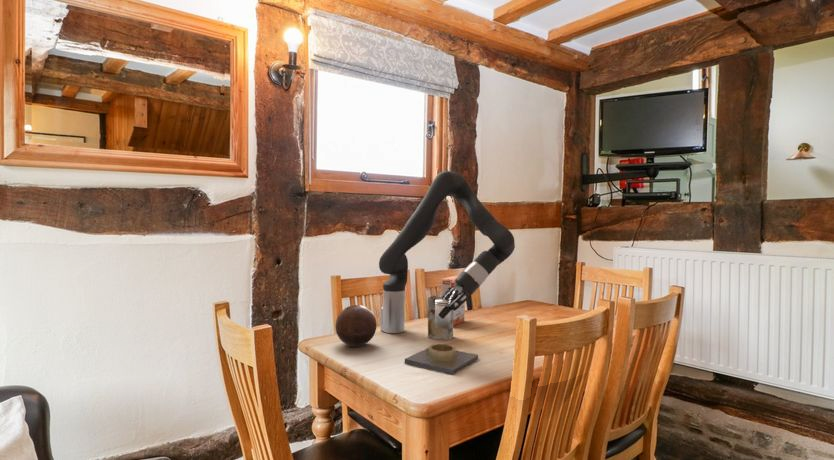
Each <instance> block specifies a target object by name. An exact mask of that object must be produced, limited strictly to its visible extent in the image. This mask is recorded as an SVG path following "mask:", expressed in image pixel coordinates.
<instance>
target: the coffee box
mask: <svg viewBox="0 0 834 460" xmlns="http://www.w3.org/2000/svg"><path fill="white" fill-rule="evenodd" d="M441 297H442V296H441V295H431V296H430V297H427V298H428V299H427V338H428V339H434V340H435V339H436V340H441V341H450V340H452V339H453V338H454V326H453V311H451V328H449V329H438V328H435V313H434V312H433V310H434V309H435V300H436V299H440V298H441Z"/></svg>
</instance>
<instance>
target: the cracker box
mask: <svg viewBox="0 0 834 460" xmlns="http://www.w3.org/2000/svg"><path fill="white" fill-rule="evenodd" d="M458 276H459V275H453V276H449V277H444V278H443V277H442V278H441V279H440V296H442V295H443V294H444V293H445V292H446V290H447V289H448V288H449V287H451V288H454V287H455V286H456V285H457V283H456V282H455V279H456V278H457V277H458ZM465 304H466V301H465V302H464V303H463V304H462V305H461V306H460V307H459V308H458V309H457V310H455V311H454V310H453V327H454V326H456V325H458V324H461V323H463V322H465V313H466V312H465V309H466V307H465V306H466V305H465ZM455 307H456V306H455Z"/></svg>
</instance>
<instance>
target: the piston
mask: <svg viewBox="0 0 834 460" xmlns="http://www.w3.org/2000/svg"><path fill="white" fill-rule="evenodd" d="M448 302H449V299H436V300H435V328H438V329H449V328H451V311H450V312H449V313H448V314H447V315H446V316H445V318H444V319H442V318H441V317H440V316H439V315H438V314H439V312H440V311H441V310H442V309H443V308H444V307H445V306H446V305H447V303H448ZM446 307H447V306H446Z"/></svg>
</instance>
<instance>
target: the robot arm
mask: <svg viewBox="0 0 834 460" xmlns="http://www.w3.org/2000/svg"><path fill="white" fill-rule="evenodd" d="M446 197H453V198H455V199H456V200H457V201H458V202H459V203H460V204H462V206H463V207H464V209H465V211H466V213H467V215H468V219H469V220H470V221H471V223H472V224H473V225H474V227H475V228H476V229H477V230H478V231H479V232H480V233H481V234H482V235H483V236H484V237H488V238H489V240H490V241H491V243H493V245H491V247H490V248H488V250H483V251H481V253H480V254H479V255H477V256H476V258H475V259H474V260H473V261H472V262H471V263H469V264H468V265H467V266H466V267H465V268H464V269H463V271H462V272H460V274H459V275H457V276H458V277H457V278H456V279H455V282H456V283H457V285H456V286H455V287H454V288H451V287H449V288H448V289H447V290H446V292H445V293H444V294H443V295H442V297H441V298H440V299H449V302H448V303H447V305H446V306H447V307H446V306H445V307H444V308H443V309H442V310H441V311H440V312H439V314H438V315H439V316H440V317H441V318H442V319H444V318H445V316H446V315H447V314H448V313H449V312H450V311H453V310H454V311H455V310H457V309H458V308H459V307H460V306H461V305H462V304H463V303H464V302H465V303H466V302H467V301H468V297H467V295H469V296H472V295H473V294H474V293H475V292H476V291H477V290H478V289H479V288H480V286H481V285H482V284H484V282H485V281H486V279H487V278H488V277H489V276H490V275H491V273H493V272H494V270H495V269H496V268H497V266H499V265H501V264H502V263H504V262H505V261H506V260H507V259H508V258H509V257H510V256H511V255H512V253H514V250H515V248H516V246H515V245H516V244H515V237H514V235H513V233H512V232H511V230H509V229H508V228H507V227H506V226H505V225H503V224H502V223H501V222H499V221H498V220H497V219H496V218H495V216H494V215H493V214H492V213H491V212H490V211H489V209H487V208H486V207H485V205H484V204H483V203H482V202H481V201H480V200H479V199H478V197H477V196H476V194H475V193H474V191H473V189H471V187H470V184H469V183H468V182H467V180H466V178H465V177H464V176H463V175H462V174H460V173H458V172H456V171H452V170H451V171H450V170H443V171H442V170H441V171H440V172H439V173H438V174H437V175H436V176H435V177H434V178H433V181H432V182H431V184H430V186H429V188H428V190H427V191H426V193H425V195H424V197H423V199H422V200H421V201H420V203H419V205H418V206H417V207H416V209H415V211H414V212H413V213H412V215H411V216H410V217H409V219H408V220H407V222H406V223H405V225H404V226H403V228H402V230H401V231H400V232H399V233H398V234H397V236H396V238H395V239H394V240H393V242H391V244H390V245H389V246H388V248H387V249H386V250H385V251H384V252H383V253H382V255H381V256H380V257H379V261H378V267H379V271H381V273H383V274H385V275H389V277H388V279H387V280H386V281H385V282H383V284H382V307H381V308H380V331H382V332H383V333H386V334H400V333H401V334H402V333H403V332H405V328H406V327H405V322H406V321H405V320H406V319H405V318H406V313H405V312H406V308H405V307H406V285H407V283H408V275H409V274H408V273H409V261H408V260H409V259H408V257H407V255H406V253H407V252H408V251H409V250H411V249H412V248H414V247H415V246H416V245H417V244H419V243H420V242H421V241H423V239H424V238H426V236H427V235H428V233H429V232H430V231H431V230H432V228H433V227H434V224H435V220H436V214H437V210H438V209H439V206H440V205H441V203H442V202H443V201H444V199H445V198H446ZM455 306H456V307H455ZM433 312H434V313H435V309H434V310H433Z"/></svg>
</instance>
